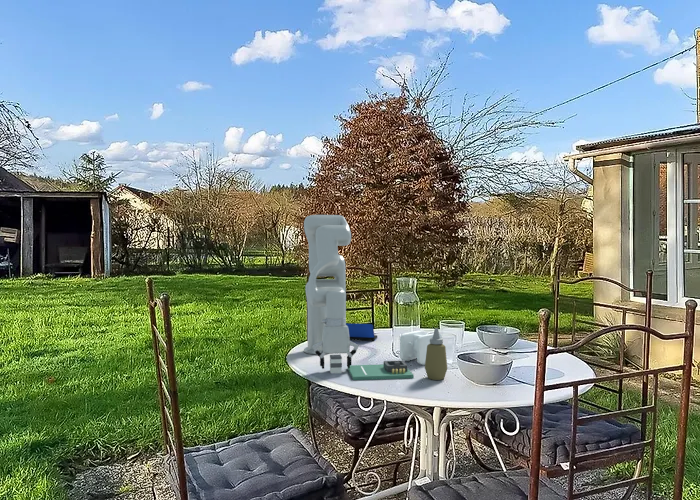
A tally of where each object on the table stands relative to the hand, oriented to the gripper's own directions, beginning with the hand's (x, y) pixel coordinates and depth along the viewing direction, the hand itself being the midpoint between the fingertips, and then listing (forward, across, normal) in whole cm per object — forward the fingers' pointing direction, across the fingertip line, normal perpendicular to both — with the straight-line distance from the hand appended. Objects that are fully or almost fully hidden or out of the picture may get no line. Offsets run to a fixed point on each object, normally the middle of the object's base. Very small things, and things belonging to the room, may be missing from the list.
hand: (335, 367), depth 202 cm
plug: (+2, 0, 0) cm, 2 cm away
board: (+2, +16, -4) cm, 17 cm away
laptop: (+2, +18, +57) cm, 60 cm away
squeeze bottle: (+2, +35, -13) cm, 37 cm away
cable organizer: (+2, +36, +12) cm, 38 cm away
